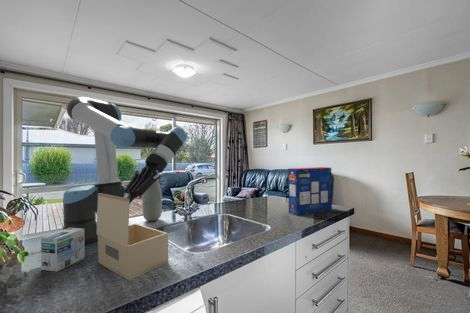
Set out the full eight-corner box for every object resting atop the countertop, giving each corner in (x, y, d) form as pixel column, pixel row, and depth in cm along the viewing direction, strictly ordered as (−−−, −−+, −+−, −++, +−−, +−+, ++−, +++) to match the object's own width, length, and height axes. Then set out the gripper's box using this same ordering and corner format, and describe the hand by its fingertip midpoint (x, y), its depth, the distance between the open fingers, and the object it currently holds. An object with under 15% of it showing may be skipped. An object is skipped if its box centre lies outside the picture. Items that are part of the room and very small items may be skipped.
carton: (97, 262, 78) (97, 233, 78) (136, 248, 89) (135, 223, 89) (128, 280, 66) (127, 246, 66) (168, 262, 77) (167, 233, 77)
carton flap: (98, 233, 78) (96, 234, 77) (99, 193, 78) (97, 193, 78) (127, 246, 66) (125, 247, 66) (129, 198, 67) (127, 198, 66)
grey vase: (139, 223, 124) (138, 172, 124) (149, 218, 134) (148, 171, 134) (156, 223, 122) (155, 172, 122) (164, 218, 132) (164, 170, 132)
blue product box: (322, 208, 153) (321, 167, 153) (331, 210, 146) (331, 167, 146) (288, 212, 142) (288, 168, 142) (297, 215, 135) (296, 169, 134)
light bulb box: (57, 272, 71) (56, 238, 71) (40, 270, 73) (39, 237, 73) (85, 257, 82) (85, 228, 82) (70, 256, 83) (70, 227, 83)
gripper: (176, 166, 85) (136, 221, 72) (155, 165, 92) (115, 215, 79) (164, 152, 80) (119, 208, 67) (143, 152, 88) (98, 203, 75)
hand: (117, 212), depth 73 cm, fingers closed
